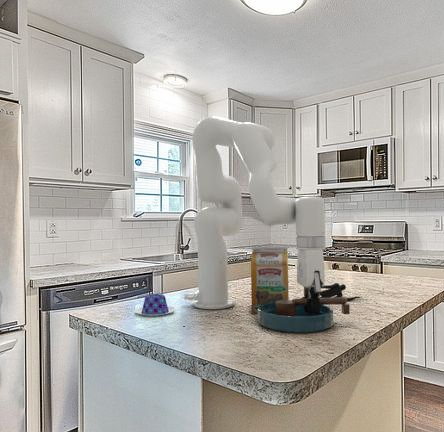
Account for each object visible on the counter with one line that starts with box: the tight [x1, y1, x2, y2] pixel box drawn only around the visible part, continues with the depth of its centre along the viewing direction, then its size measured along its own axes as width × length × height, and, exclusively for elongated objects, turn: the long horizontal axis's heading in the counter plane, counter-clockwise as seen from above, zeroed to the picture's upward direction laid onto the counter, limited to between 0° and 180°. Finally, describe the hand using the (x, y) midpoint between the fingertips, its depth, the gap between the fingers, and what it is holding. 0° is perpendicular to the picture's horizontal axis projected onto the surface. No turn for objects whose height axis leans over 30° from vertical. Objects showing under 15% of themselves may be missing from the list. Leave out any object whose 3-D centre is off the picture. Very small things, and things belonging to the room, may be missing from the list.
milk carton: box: [250, 246, 290, 314], centre depth 126 cm, size 10×11×19 cm
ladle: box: [276, 296, 351, 317], centre depth 109 cm, size 19×5×4 cm, turn 93°
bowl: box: [257, 302, 334, 334], centre depth 109 cm, size 19×19×4 cm
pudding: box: [134, 293, 176, 317], centre depth 124 cm, size 12×12×5 cm
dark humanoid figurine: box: [301, 282, 363, 302], centre depth 135 cm, size 8×9×25 cm
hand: (311, 312), depth 109 cm, fingers closed on ladle
